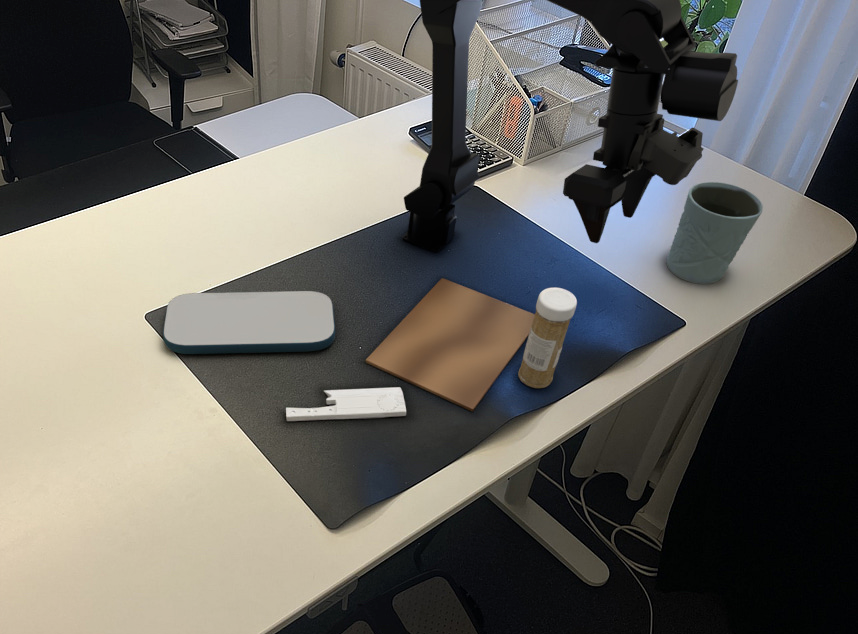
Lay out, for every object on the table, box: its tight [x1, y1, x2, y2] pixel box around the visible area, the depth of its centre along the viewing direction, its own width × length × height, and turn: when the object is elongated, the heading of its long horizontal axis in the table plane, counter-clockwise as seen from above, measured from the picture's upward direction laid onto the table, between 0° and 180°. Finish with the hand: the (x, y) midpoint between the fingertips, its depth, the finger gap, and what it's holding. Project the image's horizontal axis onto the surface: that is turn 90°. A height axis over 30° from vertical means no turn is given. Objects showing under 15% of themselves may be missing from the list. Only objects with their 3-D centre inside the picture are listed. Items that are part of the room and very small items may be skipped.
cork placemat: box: [365, 277, 535, 412], centre depth 105 cm, size 16×22×1 cm
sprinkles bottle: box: [517, 287, 578, 389], centre depth 95 cm, size 5×5×14 cm
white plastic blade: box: [285, 386, 407, 422], centre depth 96 cm, size 5×15×1 cm, turn 94°
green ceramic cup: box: [666, 181, 764, 285], centre depth 113 cm, size 10×10×12 cm
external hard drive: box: [162, 290, 336, 355], centre depth 106 cm, size 24×12×2 cm, turn 93°
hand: (611, 229), depth 99 cm, fingers open, 9 cm apart
